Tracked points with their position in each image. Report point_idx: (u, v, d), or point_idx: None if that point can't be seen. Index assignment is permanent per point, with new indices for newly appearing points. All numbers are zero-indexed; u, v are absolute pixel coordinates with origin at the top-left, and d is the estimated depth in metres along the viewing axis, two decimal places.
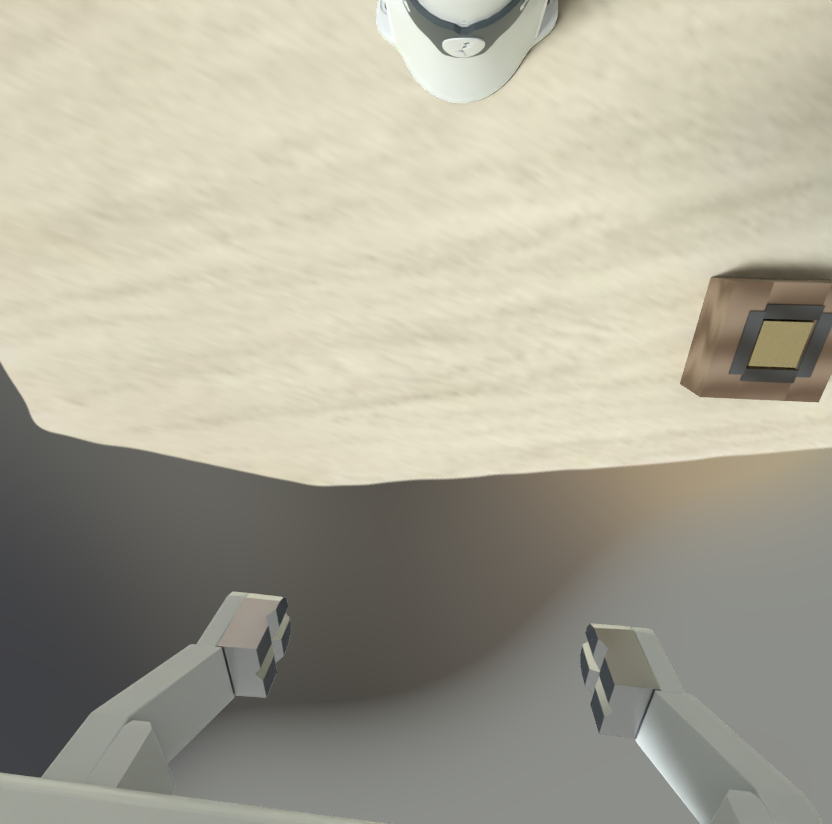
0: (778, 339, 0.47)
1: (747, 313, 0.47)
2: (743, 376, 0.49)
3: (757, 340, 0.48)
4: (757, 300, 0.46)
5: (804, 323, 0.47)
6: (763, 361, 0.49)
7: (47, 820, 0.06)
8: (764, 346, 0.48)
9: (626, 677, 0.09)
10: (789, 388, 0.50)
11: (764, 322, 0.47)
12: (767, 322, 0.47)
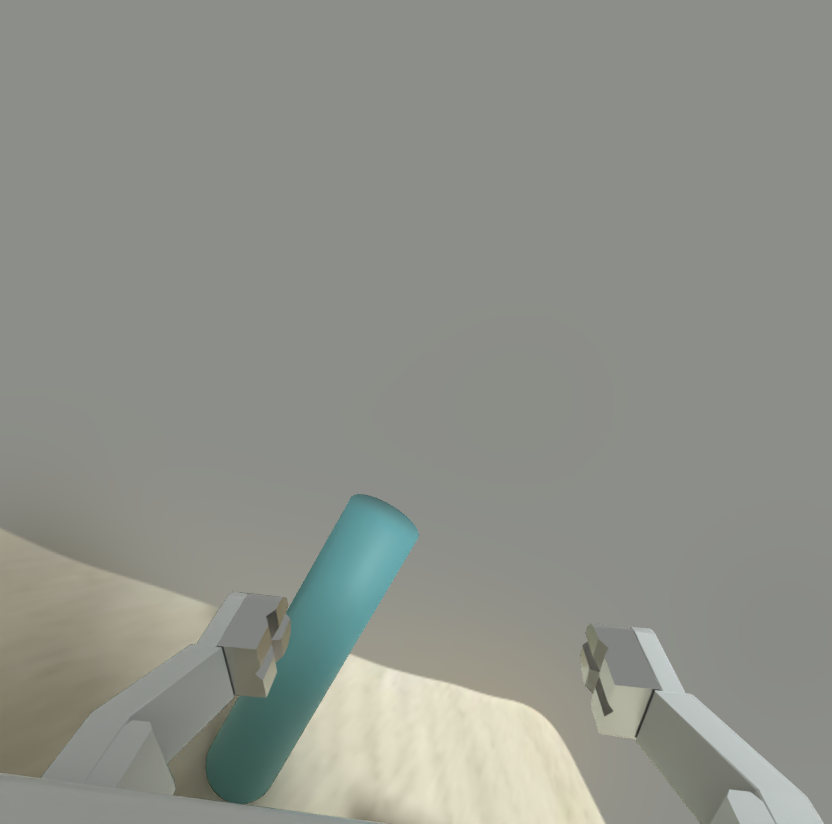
0: None
1: None
2: None
3: None
4: None
5: None
6: None
7: (47, 820, 0.06)
8: None
9: (626, 677, 0.09)
10: None
11: None
12: None
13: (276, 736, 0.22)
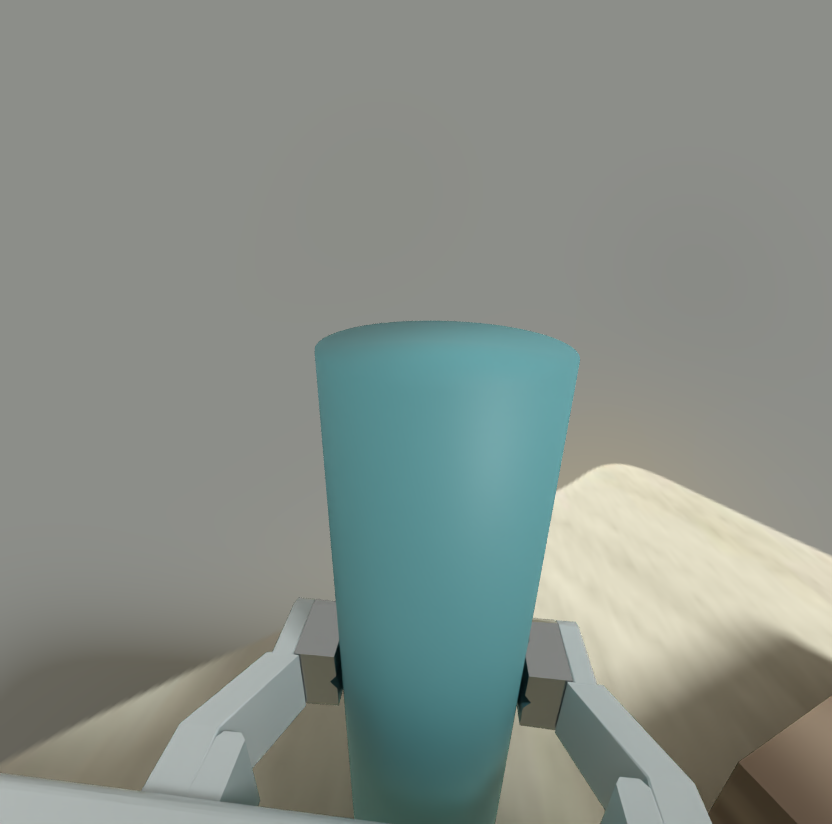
0: None
1: None
2: None
3: None
4: None
5: None
6: None
7: (47, 820, 0.06)
8: None
9: (541, 669, 0.09)
10: None
11: None
12: None
13: None
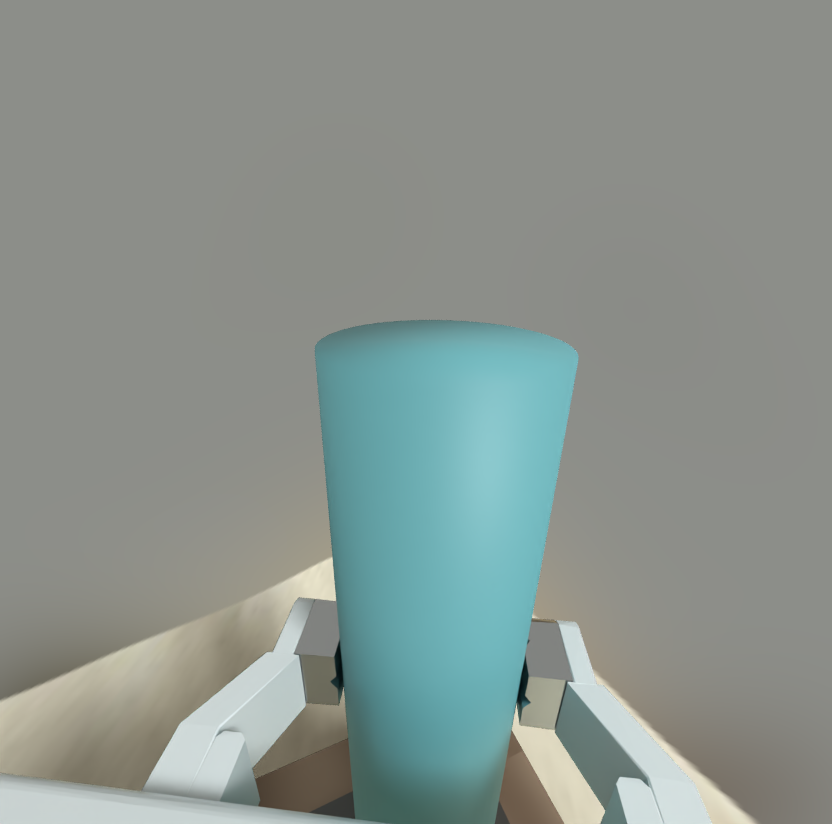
0: None
1: None
2: None
3: None
4: None
5: None
6: None
7: (47, 820, 0.06)
8: None
9: (541, 669, 0.09)
10: None
11: None
12: None
13: None
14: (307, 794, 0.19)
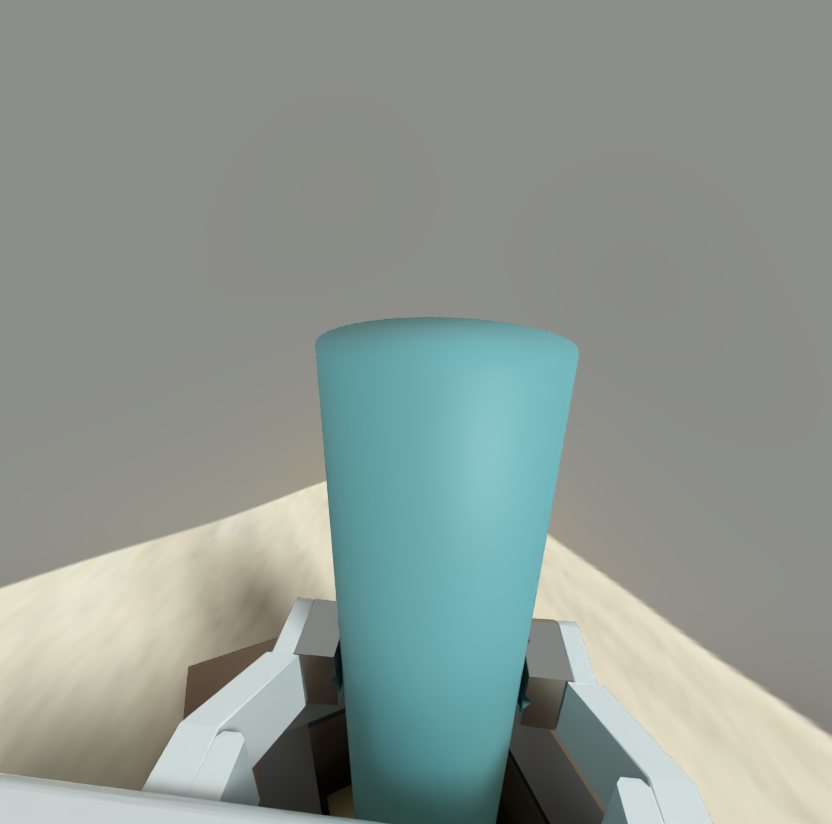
0: None
1: None
2: None
3: None
4: None
5: None
6: None
7: (47, 820, 0.06)
8: None
9: (542, 669, 0.09)
10: None
11: None
12: None
13: None
14: None
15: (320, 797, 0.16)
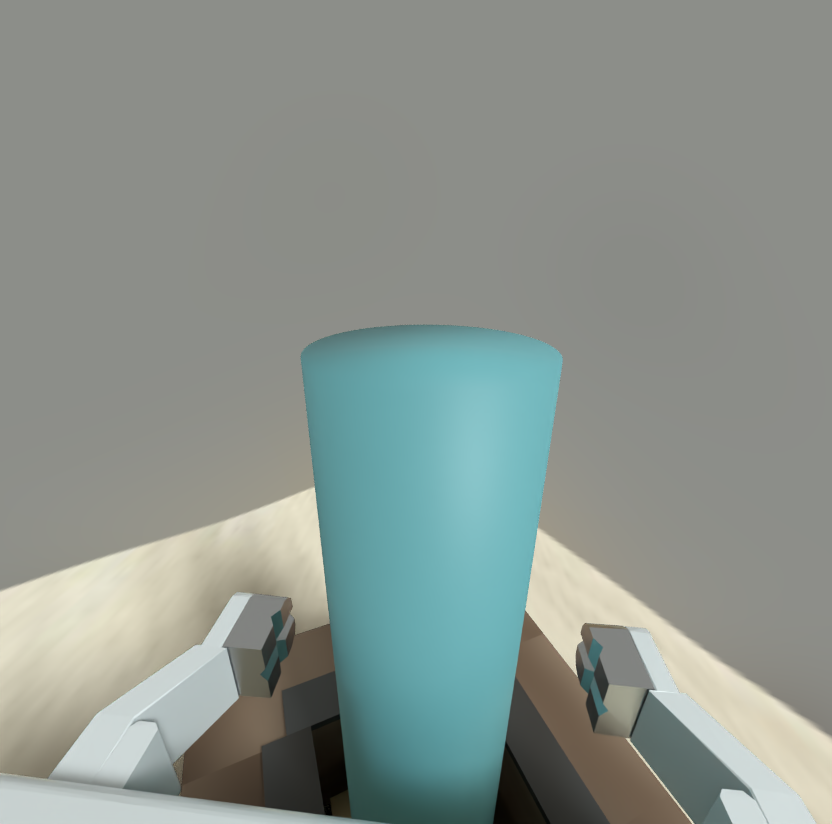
0: None
1: None
2: None
3: None
4: None
5: None
6: None
7: (47, 820, 0.06)
8: None
9: (620, 676, 0.09)
10: None
11: None
12: None
13: None
14: (283, 674, 0.16)
15: (323, 799, 0.16)
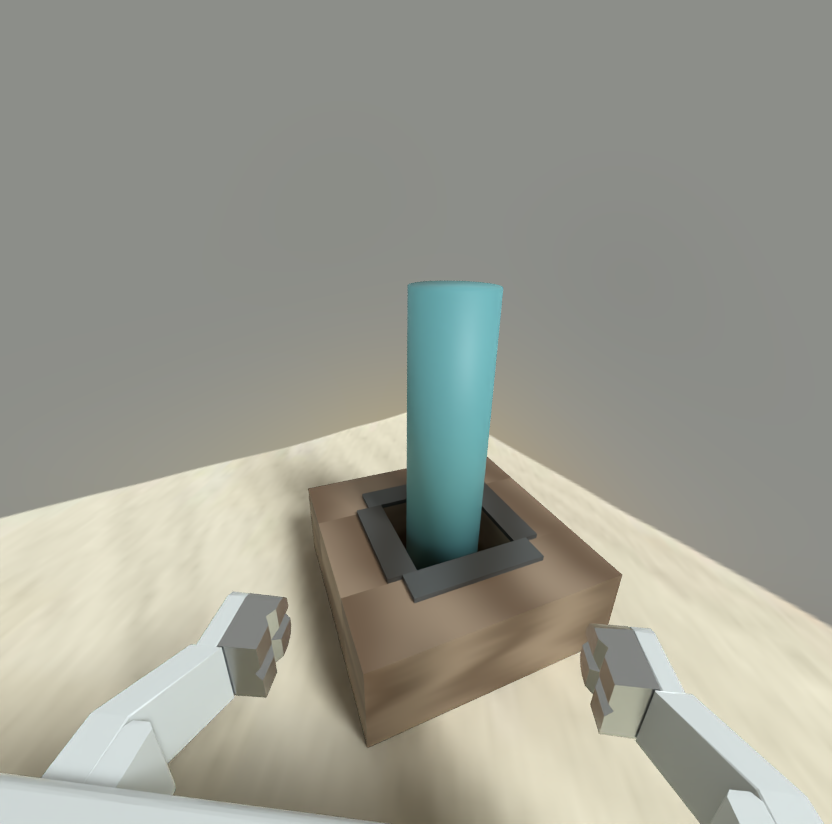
0: None
1: (420, 603, 0.19)
2: (527, 535, 0.23)
3: None
4: (388, 603, 0.19)
5: None
6: None
7: (47, 820, 0.06)
8: None
9: (626, 677, 0.09)
10: (491, 482, 0.29)
11: None
12: None
13: (469, 535, 0.23)
14: (360, 490, 0.28)
15: None
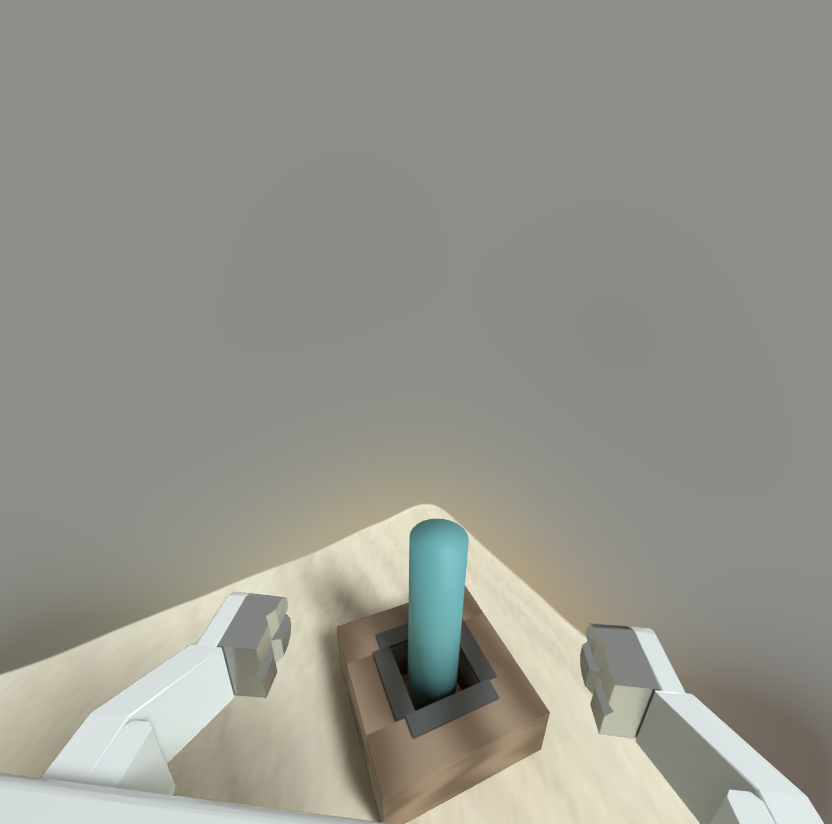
0: None
1: (417, 739, 0.30)
2: (490, 677, 0.34)
3: None
4: (396, 739, 0.30)
5: None
6: None
7: (47, 820, 0.06)
8: None
9: (626, 677, 0.09)
10: (469, 618, 0.40)
11: None
12: None
13: (450, 678, 0.34)
14: (374, 628, 0.39)
15: None
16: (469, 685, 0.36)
